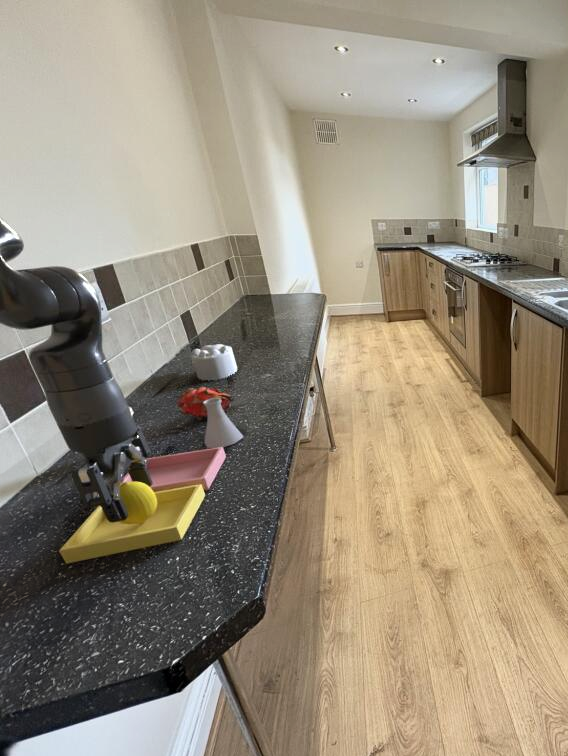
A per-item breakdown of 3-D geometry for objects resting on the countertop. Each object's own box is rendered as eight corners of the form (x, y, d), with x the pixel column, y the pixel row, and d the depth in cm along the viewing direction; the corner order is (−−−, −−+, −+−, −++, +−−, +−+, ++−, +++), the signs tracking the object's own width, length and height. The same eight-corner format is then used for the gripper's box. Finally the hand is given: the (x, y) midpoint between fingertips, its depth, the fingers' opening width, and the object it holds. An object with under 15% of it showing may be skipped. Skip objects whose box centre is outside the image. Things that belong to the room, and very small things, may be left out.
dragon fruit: (181, 423, 103) (237, 422, 107) (166, 417, 95) (227, 416, 99) (185, 391, 105) (239, 391, 109) (171, 382, 97) (230, 383, 101)
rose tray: (113, 506, 71) (108, 494, 70) (143, 470, 82) (139, 459, 81) (208, 489, 76) (204, 478, 75) (226, 456, 86) (222, 446, 85)
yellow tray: (66, 563, 60) (58, 550, 59) (108, 513, 70) (102, 501, 69) (181, 539, 64) (176, 527, 63) (205, 495, 74) (201, 483, 73)
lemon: (140, 511, 69) (123, 472, 66) (172, 512, 69) (156, 472, 66) (109, 535, 64) (89, 493, 61) (144, 535, 64) (125, 494, 61)
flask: (197, 445, 90) (183, 404, 87) (230, 430, 96) (218, 391, 93) (218, 452, 87) (204, 410, 84) (250, 437, 94) (239, 397, 90)
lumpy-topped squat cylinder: (238, 364, 139) (231, 340, 135) (234, 377, 128) (226, 351, 125) (201, 369, 134) (193, 344, 131) (194, 383, 124) (185, 356, 120)
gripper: (87, 396, 64) (125, 482, 70) (23, 439, 52) (76, 539, 58) (146, 389, 66) (177, 473, 72) (98, 429, 54) (141, 526, 60)
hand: (132, 502), depth 65 cm, fingers open, 8 cm apart
